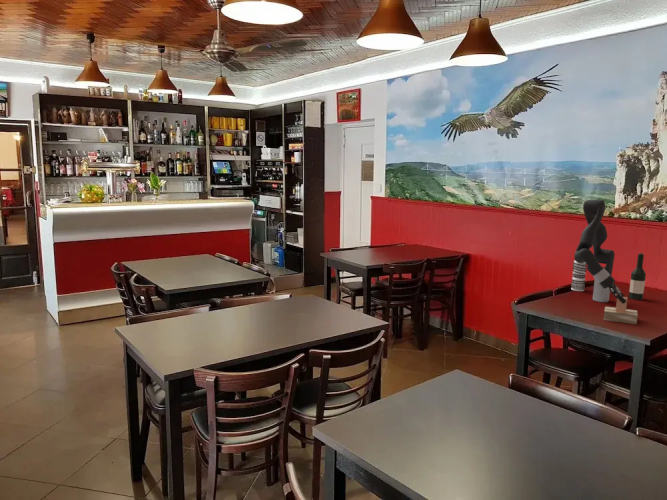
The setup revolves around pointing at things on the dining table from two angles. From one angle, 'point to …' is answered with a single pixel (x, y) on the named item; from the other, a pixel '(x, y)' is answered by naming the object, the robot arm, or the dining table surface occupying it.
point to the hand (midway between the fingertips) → (624, 301)
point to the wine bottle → (637, 280)
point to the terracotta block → (621, 305)
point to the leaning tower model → (578, 276)
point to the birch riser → (620, 315)
